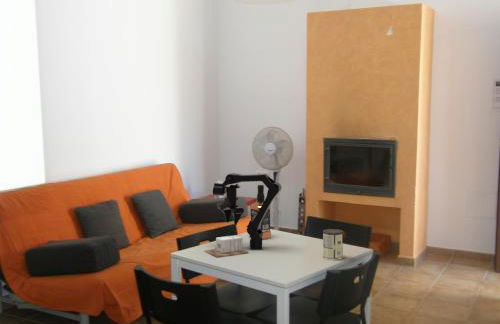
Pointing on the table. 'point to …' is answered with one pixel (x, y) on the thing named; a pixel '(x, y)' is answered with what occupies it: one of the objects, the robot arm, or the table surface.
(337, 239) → the coffee can
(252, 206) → the whiskey bottle
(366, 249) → the table surface
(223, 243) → the supplement box
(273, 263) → the table surface
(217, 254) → the walnut board
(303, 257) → the table surface
